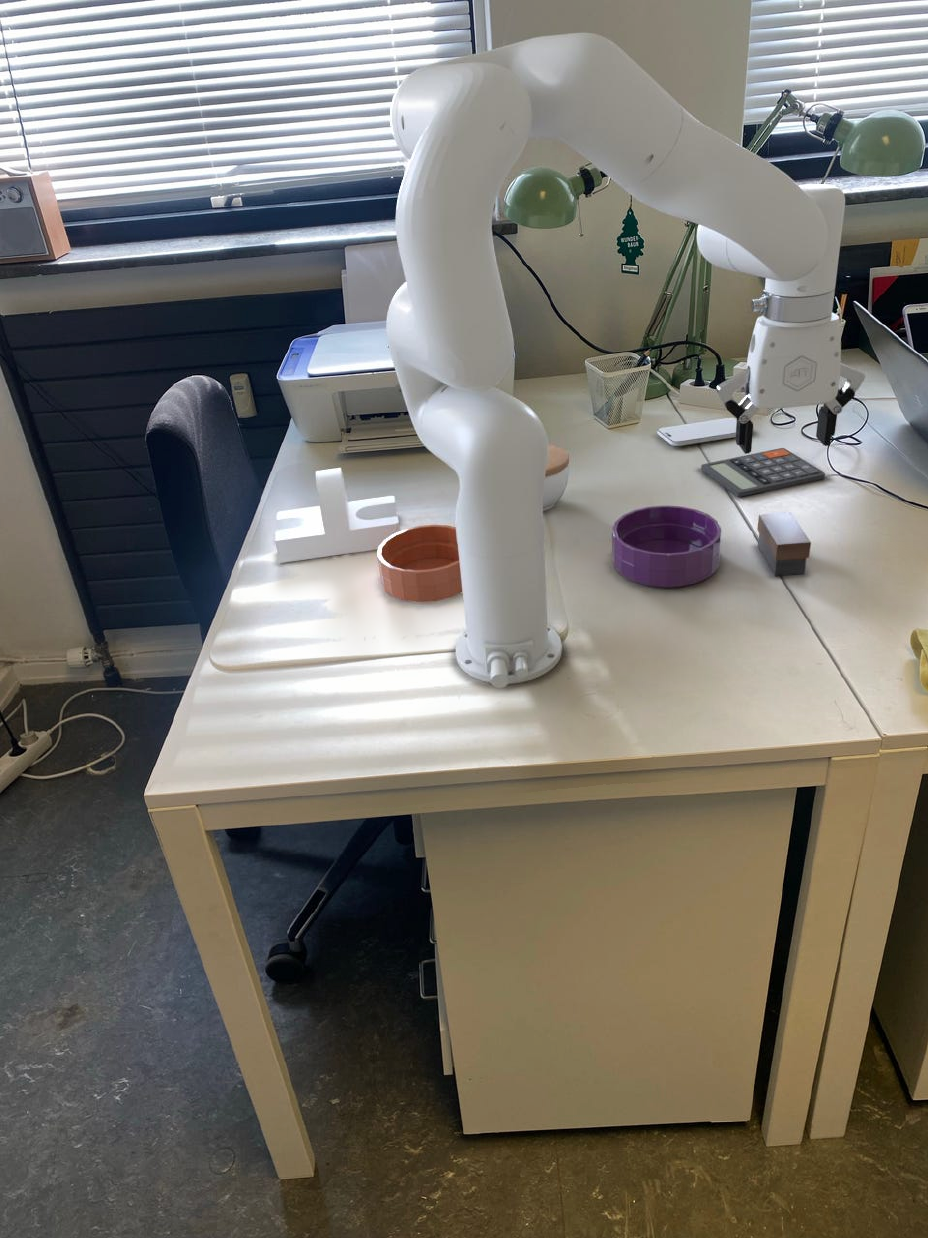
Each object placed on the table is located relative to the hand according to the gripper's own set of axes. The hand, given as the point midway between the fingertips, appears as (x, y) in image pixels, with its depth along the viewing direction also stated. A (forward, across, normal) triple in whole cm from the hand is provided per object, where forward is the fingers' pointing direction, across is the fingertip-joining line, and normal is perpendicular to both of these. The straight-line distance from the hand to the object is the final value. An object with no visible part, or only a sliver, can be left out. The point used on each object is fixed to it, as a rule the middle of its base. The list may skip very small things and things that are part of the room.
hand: (783, 445), depth 112 cm
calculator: (+16, +6, +26) cm, 31 cm away
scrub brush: (+16, +1, -1) cm, 16 cm away
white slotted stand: (+15, -60, +15) cm, 64 cm away
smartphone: (+16, +1, +44) cm, 47 cm away
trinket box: (+16, -30, +22) cm, 41 cm away
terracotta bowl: (+15, -46, +1) cm, 49 cm away
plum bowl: (+16, -14, 0) cm, 21 cm away
